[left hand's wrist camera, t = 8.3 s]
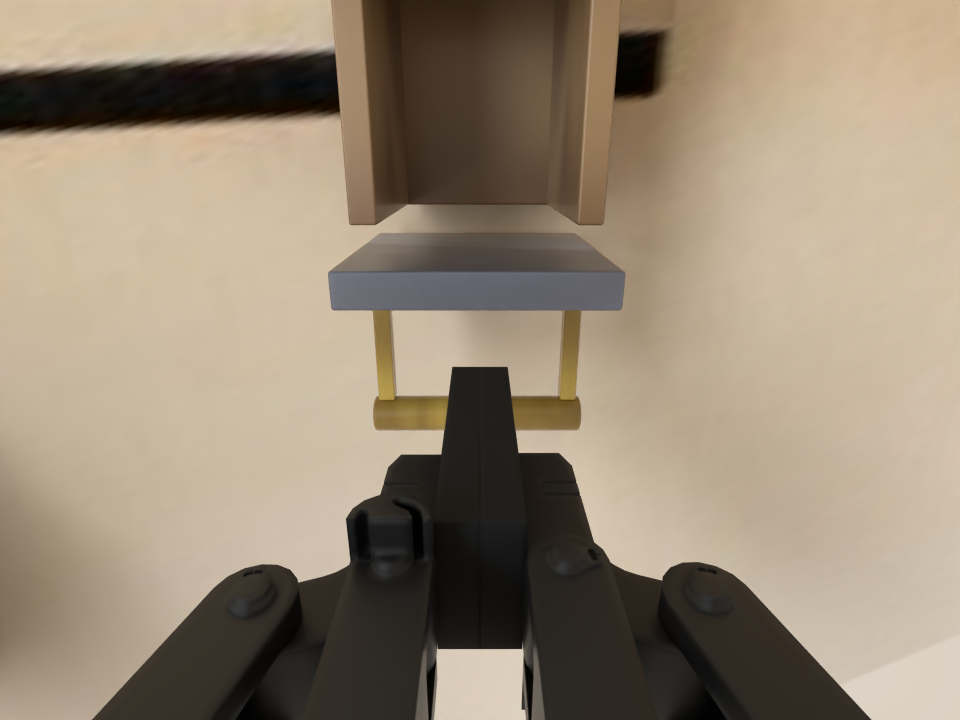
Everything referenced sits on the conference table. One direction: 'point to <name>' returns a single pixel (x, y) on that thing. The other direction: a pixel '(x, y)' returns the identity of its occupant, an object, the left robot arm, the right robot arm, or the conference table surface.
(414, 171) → the drawer
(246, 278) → the conference table surface
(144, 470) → the conference table surface
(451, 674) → the conference table surface
